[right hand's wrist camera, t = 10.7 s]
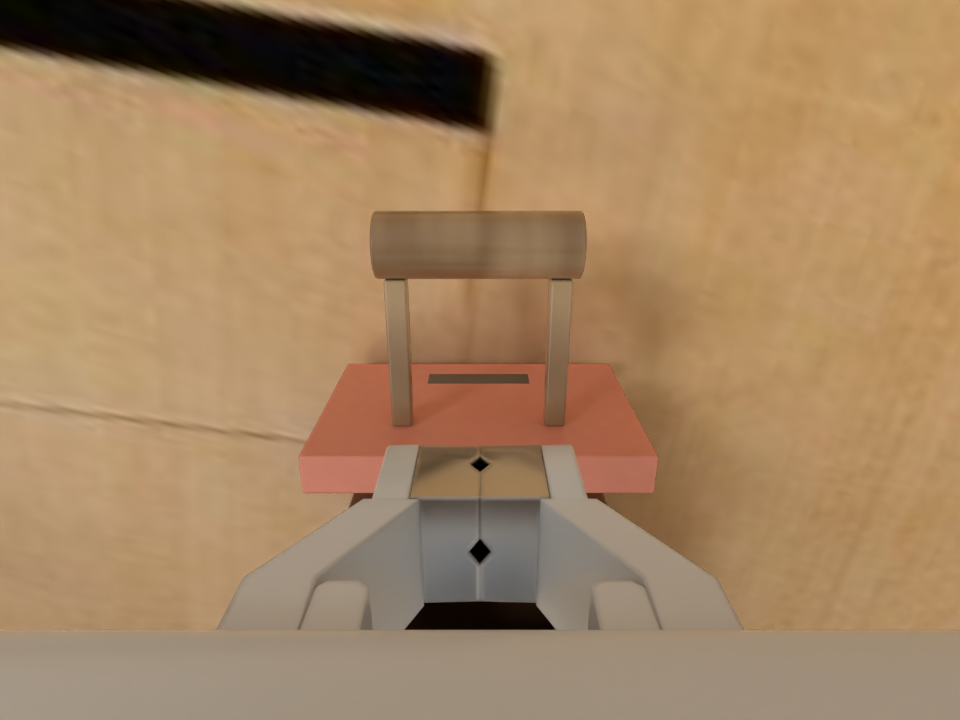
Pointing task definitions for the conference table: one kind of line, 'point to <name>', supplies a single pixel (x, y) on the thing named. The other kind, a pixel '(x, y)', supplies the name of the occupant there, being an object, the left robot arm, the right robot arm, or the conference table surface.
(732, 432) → the conference table surface
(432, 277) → the drawer
